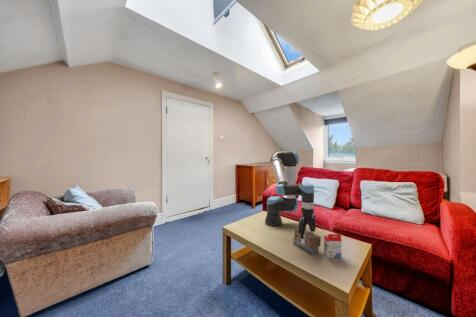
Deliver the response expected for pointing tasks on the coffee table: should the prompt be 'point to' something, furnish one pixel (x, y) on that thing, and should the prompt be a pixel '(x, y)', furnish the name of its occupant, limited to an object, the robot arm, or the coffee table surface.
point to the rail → (305, 247)
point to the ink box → (332, 245)
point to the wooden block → (309, 239)
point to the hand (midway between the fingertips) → (306, 241)
